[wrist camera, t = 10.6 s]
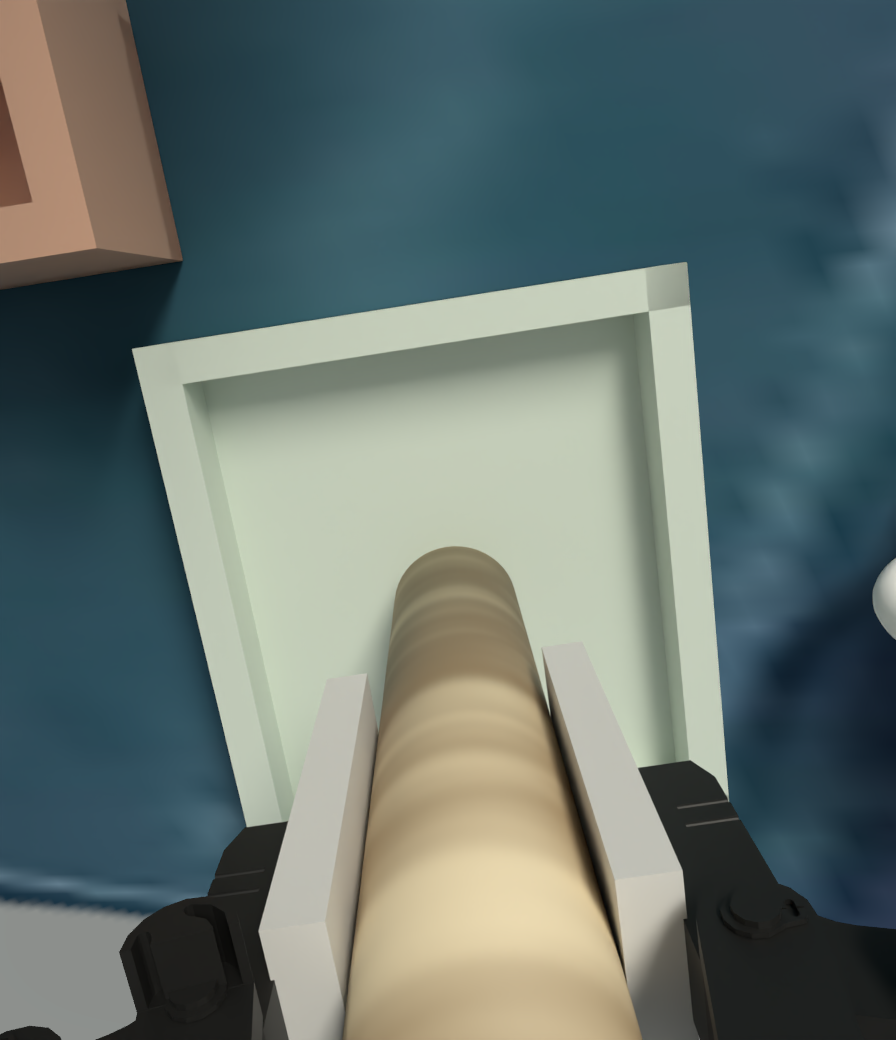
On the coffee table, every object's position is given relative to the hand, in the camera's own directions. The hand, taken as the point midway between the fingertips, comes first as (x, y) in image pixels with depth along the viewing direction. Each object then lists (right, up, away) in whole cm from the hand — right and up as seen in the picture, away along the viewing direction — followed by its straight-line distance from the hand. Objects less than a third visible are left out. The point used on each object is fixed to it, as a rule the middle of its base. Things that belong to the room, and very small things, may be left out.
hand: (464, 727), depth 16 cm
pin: (0, +2, +7) cm, 7 cm away
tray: (0, +2, +9) cm, 9 cm away
